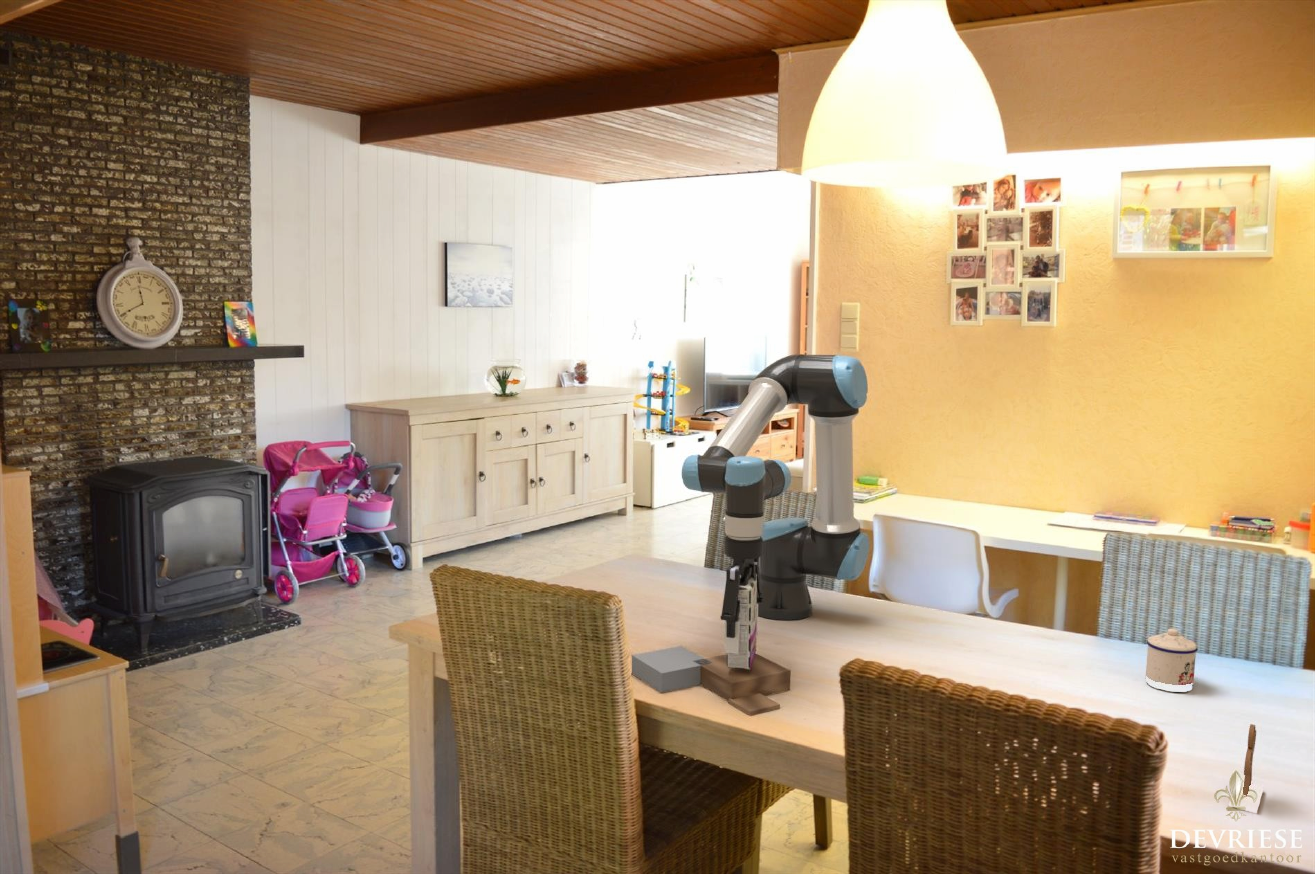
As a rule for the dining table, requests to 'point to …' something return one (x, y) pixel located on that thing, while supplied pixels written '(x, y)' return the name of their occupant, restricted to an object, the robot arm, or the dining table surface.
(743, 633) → the candy bar box
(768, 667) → the walnut block
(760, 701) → the tile
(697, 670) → the slate grey block
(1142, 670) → the dining table surface
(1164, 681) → the teacup with lid
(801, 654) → the dining table surface
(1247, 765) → the gingerbread man figurine
